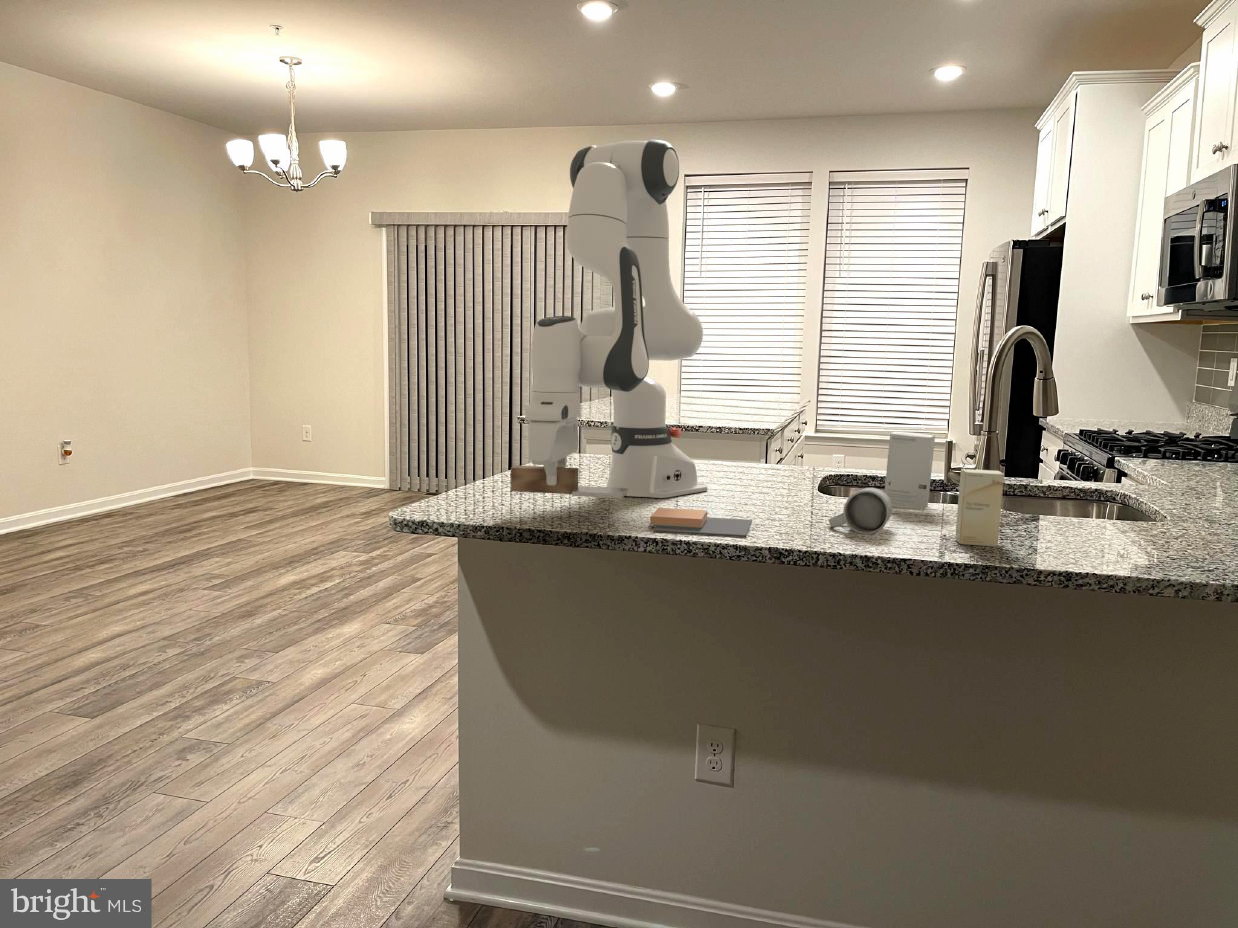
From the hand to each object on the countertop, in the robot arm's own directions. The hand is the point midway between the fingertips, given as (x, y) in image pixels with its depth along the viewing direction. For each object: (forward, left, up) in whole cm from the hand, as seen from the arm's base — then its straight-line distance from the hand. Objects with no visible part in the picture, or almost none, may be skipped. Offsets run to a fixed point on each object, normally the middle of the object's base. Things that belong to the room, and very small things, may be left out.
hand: (555, 482), depth 165 cm
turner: (-2, +2, -2) cm, 3 cm away
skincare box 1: (-67, +24, -7) cm, 71 cm away
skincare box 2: (-52, +51, -7) cm, 73 cm away
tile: (-13, +13, -5) cm, 19 cm away
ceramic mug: (-42, +34, -7) cm, 55 cm away
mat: (-19, +19, -7) cm, 28 cm away
